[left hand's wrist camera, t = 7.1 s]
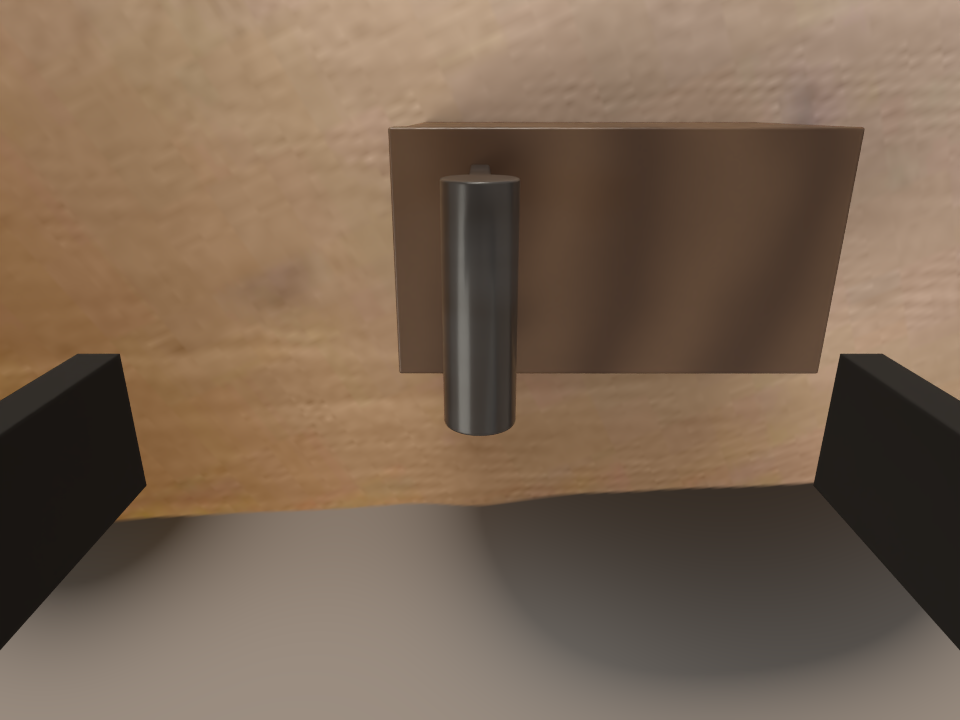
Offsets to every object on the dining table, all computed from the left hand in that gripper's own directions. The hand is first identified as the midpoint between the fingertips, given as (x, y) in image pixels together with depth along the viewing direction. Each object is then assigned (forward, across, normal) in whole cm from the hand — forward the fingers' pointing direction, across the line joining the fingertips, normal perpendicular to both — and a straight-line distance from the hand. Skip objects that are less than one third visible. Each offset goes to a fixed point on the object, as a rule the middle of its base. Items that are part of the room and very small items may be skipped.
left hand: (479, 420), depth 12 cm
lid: (+15, +5, 0) cm, 16 cm away
